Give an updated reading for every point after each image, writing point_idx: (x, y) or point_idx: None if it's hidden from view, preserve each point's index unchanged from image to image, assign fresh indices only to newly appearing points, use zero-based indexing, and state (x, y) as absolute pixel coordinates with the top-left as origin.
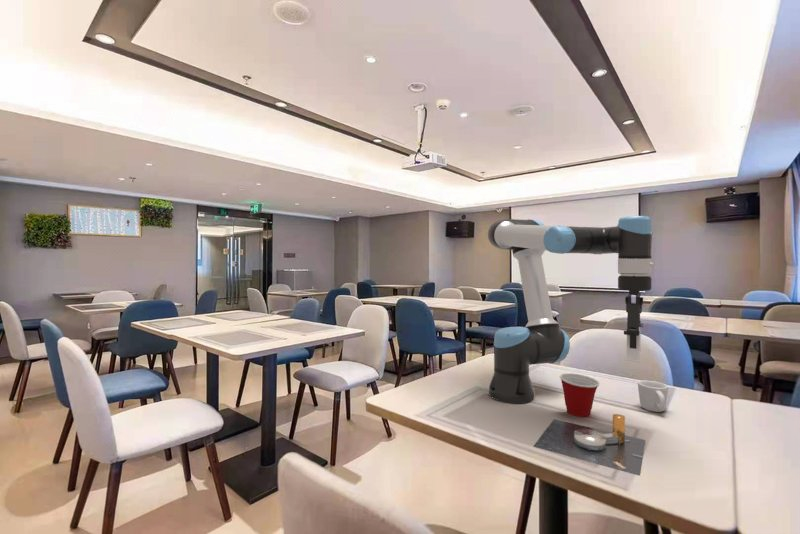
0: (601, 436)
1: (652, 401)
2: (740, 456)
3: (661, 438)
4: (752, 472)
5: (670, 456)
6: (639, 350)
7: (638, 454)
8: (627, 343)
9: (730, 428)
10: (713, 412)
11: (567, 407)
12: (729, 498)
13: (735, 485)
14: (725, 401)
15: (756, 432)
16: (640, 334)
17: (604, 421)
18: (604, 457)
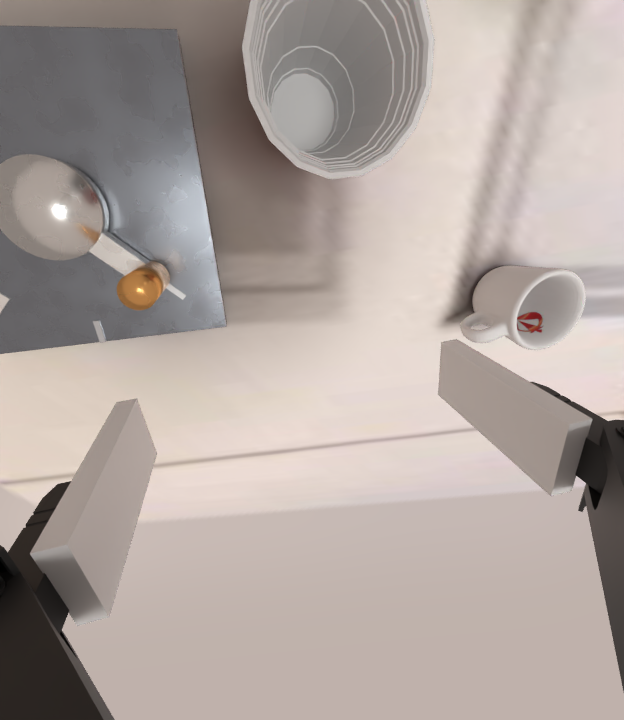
0: (72, 244)
1: (485, 305)
2: (306, 456)
3: (301, 341)
4: (245, 475)
5: (207, 371)
6: (441, 393)
7: (115, 330)
8: (75, 485)
9: (444, 430)
10: None
11: (279, 59)
12: None
13: (164, 465)
14: (605, 406)
15: (446, 460)
16: (512, 457)
17: (327, 199)
18: (9, 266)
